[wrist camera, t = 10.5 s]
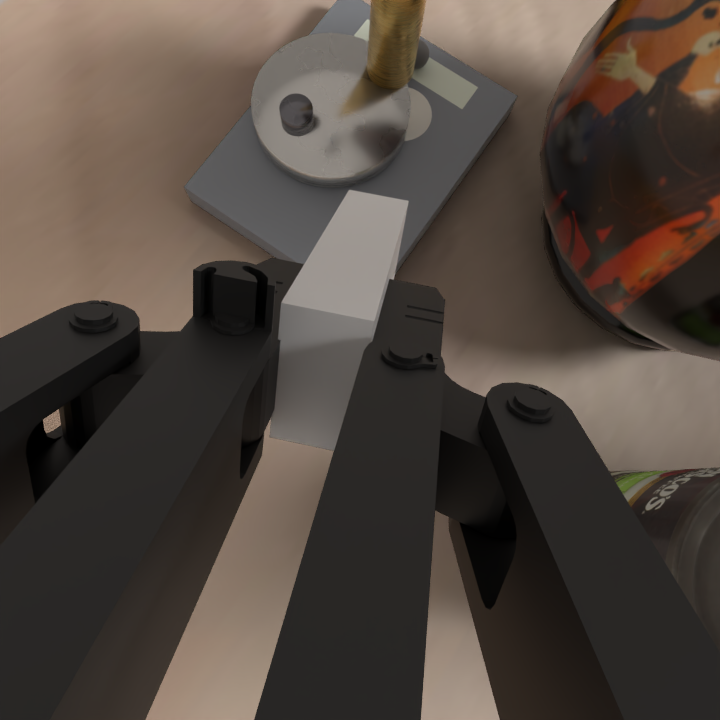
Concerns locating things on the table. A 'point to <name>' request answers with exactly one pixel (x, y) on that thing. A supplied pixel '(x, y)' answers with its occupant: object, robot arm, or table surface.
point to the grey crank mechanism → (399, 180)
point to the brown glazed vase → (640, 175)
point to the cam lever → (340, 99)
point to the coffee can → (683, 530)
